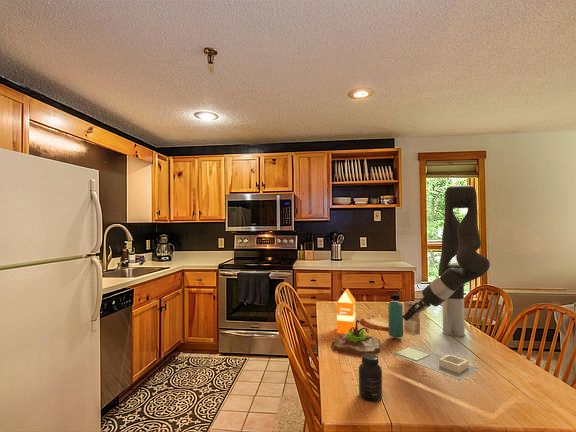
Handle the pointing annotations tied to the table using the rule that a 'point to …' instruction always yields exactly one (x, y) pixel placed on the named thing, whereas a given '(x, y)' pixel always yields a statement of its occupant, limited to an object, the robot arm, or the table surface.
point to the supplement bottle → (370, 378)
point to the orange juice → (345, 312)
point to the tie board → (438, 362)
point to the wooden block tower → (412, 320)
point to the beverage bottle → (395, 317)
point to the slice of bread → (375, 322)
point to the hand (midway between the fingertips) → (407, 317)
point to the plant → (356, 342)
